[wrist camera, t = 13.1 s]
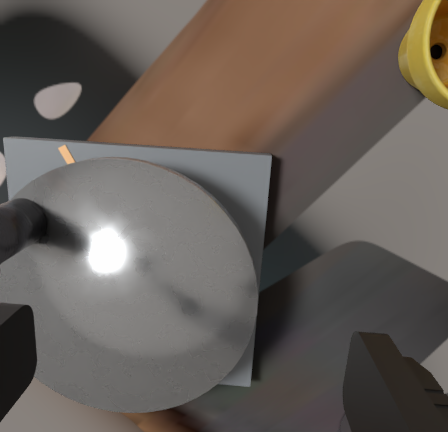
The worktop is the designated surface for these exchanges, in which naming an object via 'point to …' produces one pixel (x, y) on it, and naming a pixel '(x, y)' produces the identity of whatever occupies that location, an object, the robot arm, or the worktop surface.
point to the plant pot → (427, 51)
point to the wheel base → (180, 162)
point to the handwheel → (128, 283)
